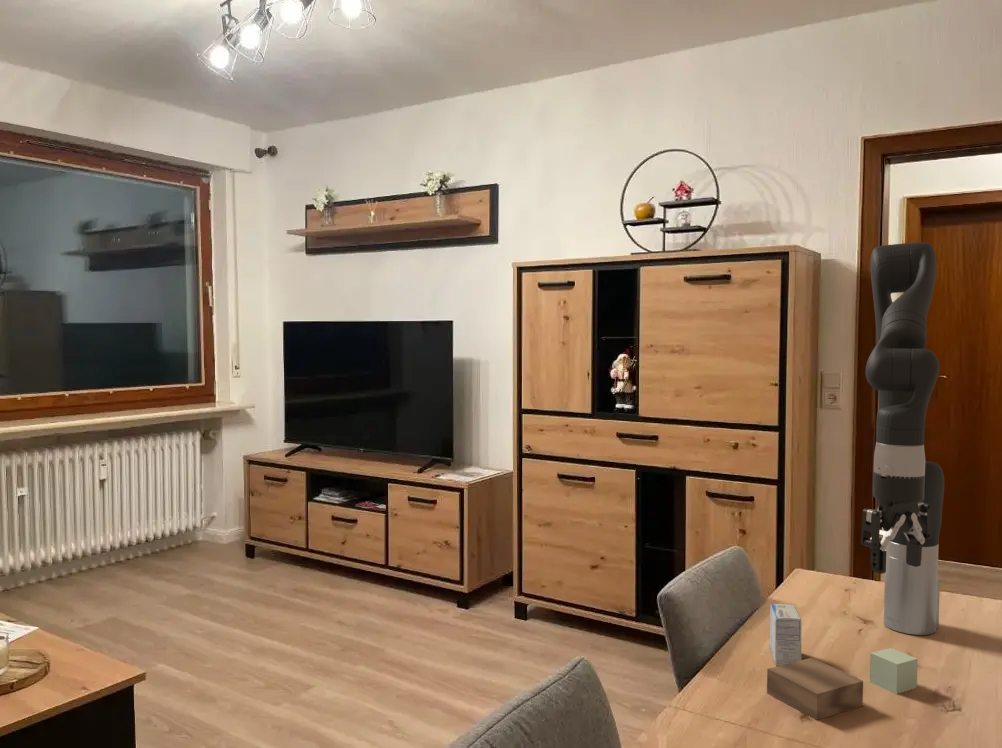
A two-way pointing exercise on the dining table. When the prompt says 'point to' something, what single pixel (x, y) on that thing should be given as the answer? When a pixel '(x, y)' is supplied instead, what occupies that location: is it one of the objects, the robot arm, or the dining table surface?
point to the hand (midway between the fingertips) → (895, 568)
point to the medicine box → (785, 634)
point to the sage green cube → (893, 670)
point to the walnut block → (815, 688)
